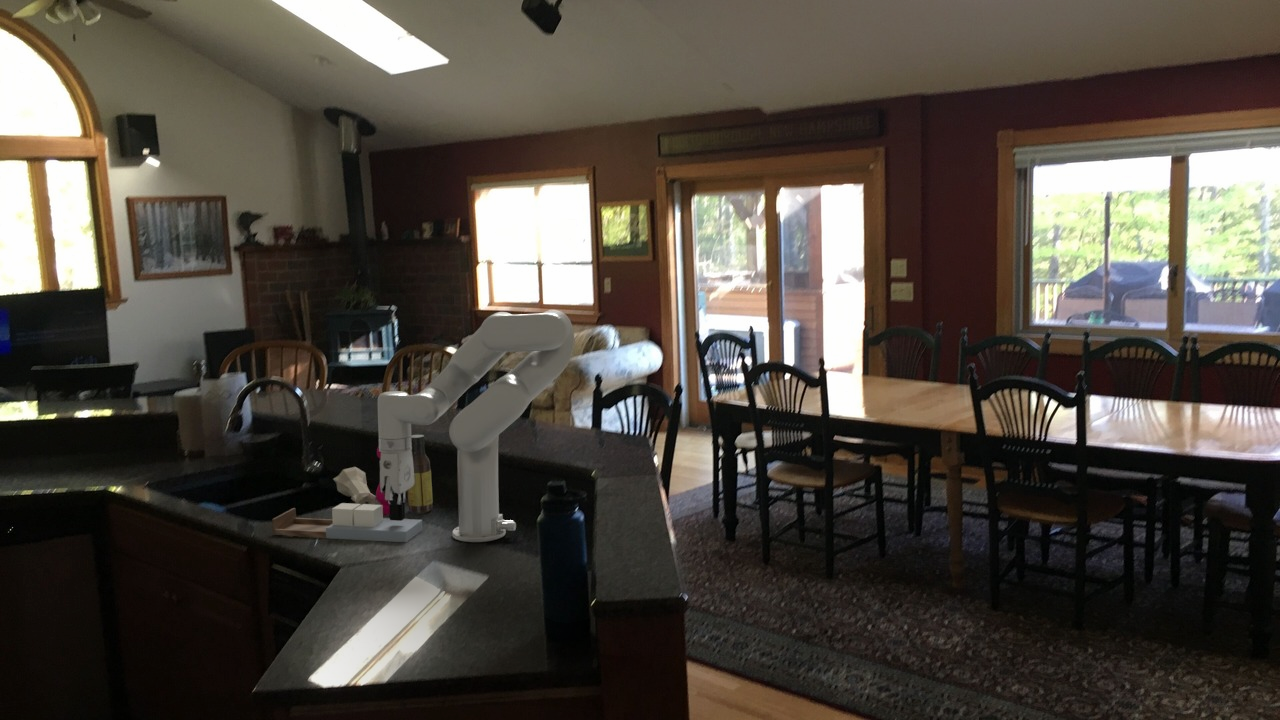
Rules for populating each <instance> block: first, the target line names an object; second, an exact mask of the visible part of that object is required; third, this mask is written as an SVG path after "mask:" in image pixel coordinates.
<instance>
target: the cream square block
mask: <svg viewBox="0 0 1280 720" xmlns="http://www.w3.org/2000/svg"><path fill="white" fill-rule="evenodd" d="M359 506H361V504H356V503H351V502H350V503H346V502H342V503H339V504H338V505H336V506H334V507H332V508H331V513H332V514H331V517H332V518H331V520H333V525H343V526H353V525H354V509H356V508H357V507H359Z"/></svg>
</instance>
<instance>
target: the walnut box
mask: <svg viewBox="0 0 1280 720" xmlns="http://www.w3.org/2000/svg"><path fill="white" fill-rule="evenodd" d="M296 511H297V509H296V508H295V507H293V508H290V509H289V510H287V511H285V512H283V513H281V514H279V515H278V516H276V517H274V518H272V520H271V521H272V525H271V526H272V535H273V534H283V535H288V536H287V537H293V536H298V537H297V538H312V539H313V538H315V539H316V538H318V539H327V538H326V528H327V527H328V526H330V525H331V524H333V519H332V518H330V519H328V518H310V517H309V518H306V517H305V518H304V517H297V512H296Z"/></svg>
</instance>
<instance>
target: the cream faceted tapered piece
mask: <svg viewBox="0 0 1280 720" xmlns="http://www.w3.org/2000/svg"><path fill="white" fill-rule="evenodd" d="M332 480H333V481H334V482H335V484H336V489H337V491H338V493H341V494H342V495H344V496H346V497H349V498H350V497H351V498H350V500H352V501H353V502H354V503H355V504H361V505H362V504H373V505H378V504H377V499H376V495H374V494H373V493H371V491H370V489H369V487H368V485H367V483H368V482H367V476H366V472H365V471H363V470H361V469H360V468H358V467H356V466H353V467H349V468H344V469H342V470H341V472H340V473H339V474H338V475H337V476H335V477H334V478H332Z"/></svg>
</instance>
